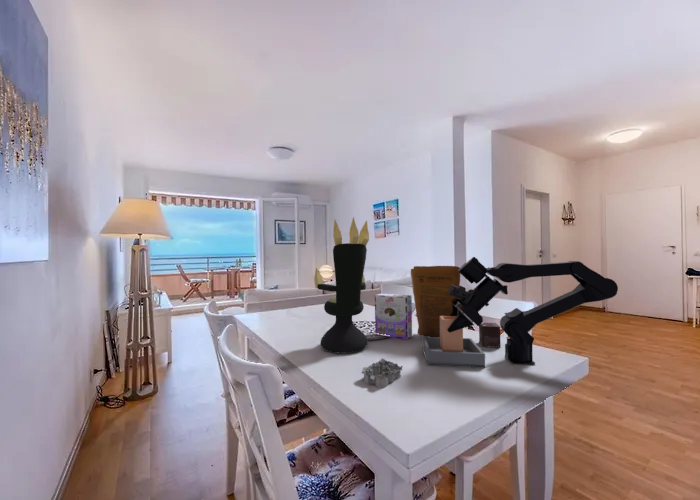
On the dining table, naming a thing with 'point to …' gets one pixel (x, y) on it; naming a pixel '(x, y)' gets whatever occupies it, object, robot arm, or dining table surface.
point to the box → (489, 335)
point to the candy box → (393, 315)
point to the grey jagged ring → (387, 370)
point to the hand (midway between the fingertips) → (446, 328)
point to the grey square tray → (453, 354)
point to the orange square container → (450, 336)
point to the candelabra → (346, 291)
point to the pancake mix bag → (433, 295)
